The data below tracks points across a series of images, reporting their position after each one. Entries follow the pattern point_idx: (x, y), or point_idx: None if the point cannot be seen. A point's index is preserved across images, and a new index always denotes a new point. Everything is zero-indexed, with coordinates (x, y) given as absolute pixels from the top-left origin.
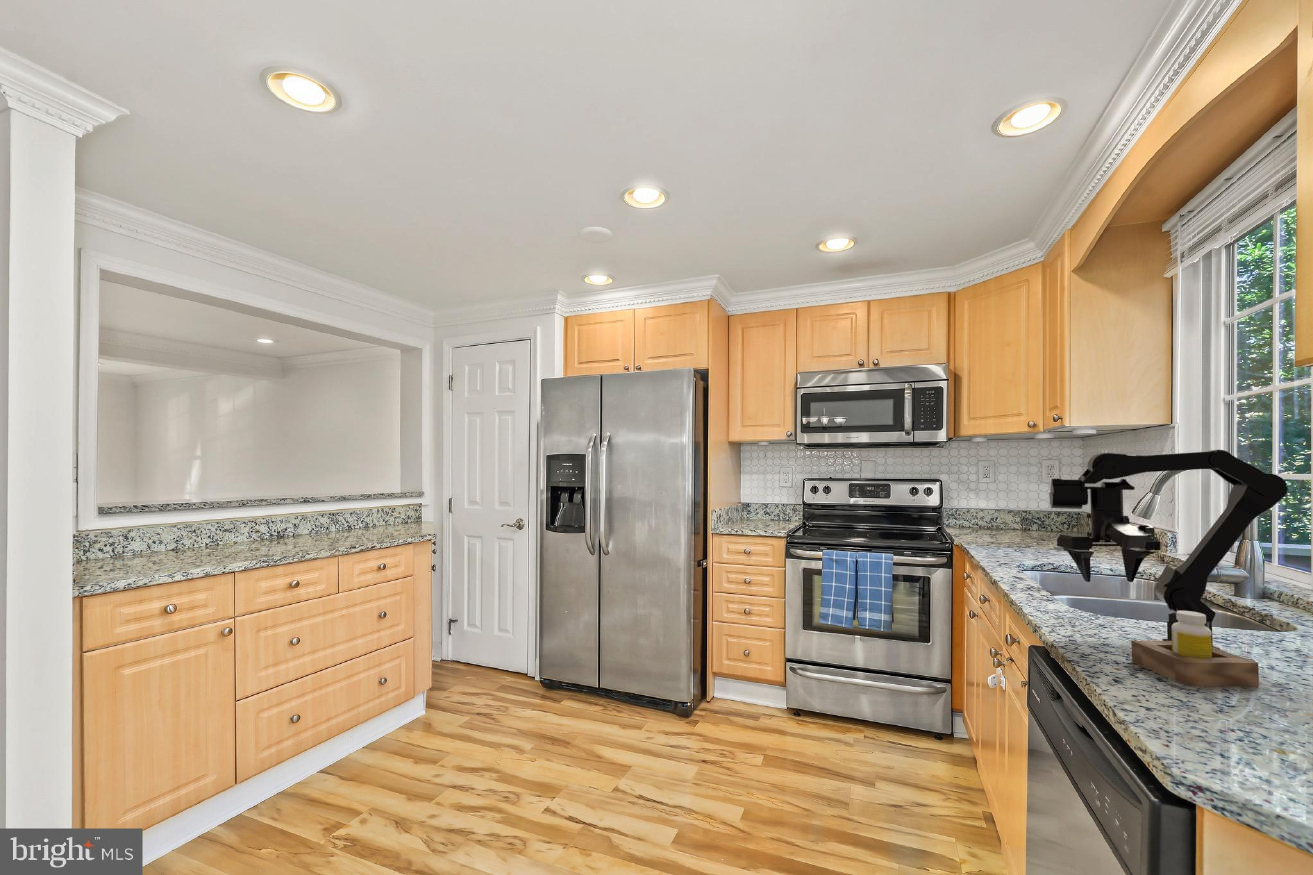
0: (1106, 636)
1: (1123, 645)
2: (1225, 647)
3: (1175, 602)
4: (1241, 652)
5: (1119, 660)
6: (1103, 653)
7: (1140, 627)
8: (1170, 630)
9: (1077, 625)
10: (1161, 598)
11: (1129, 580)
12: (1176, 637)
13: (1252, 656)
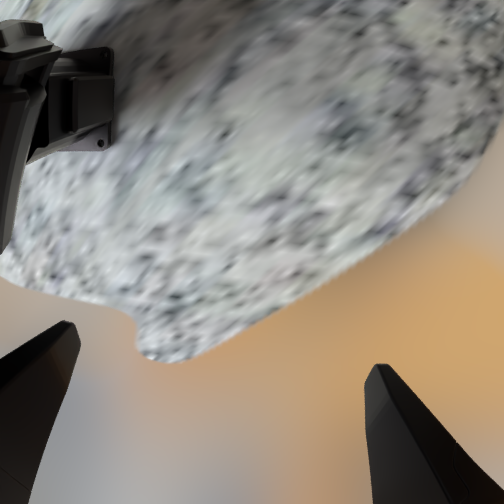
0: (252, 214)
1: (285, 114)
2: None
3: (27, 55)
4: None
5: (433, 4)
6: (429, 61)
7: (81, 280)
8: (93, 109)
9: (246, 320)
10: (23, 167)
11: (74, 337)
12: None
13: None
